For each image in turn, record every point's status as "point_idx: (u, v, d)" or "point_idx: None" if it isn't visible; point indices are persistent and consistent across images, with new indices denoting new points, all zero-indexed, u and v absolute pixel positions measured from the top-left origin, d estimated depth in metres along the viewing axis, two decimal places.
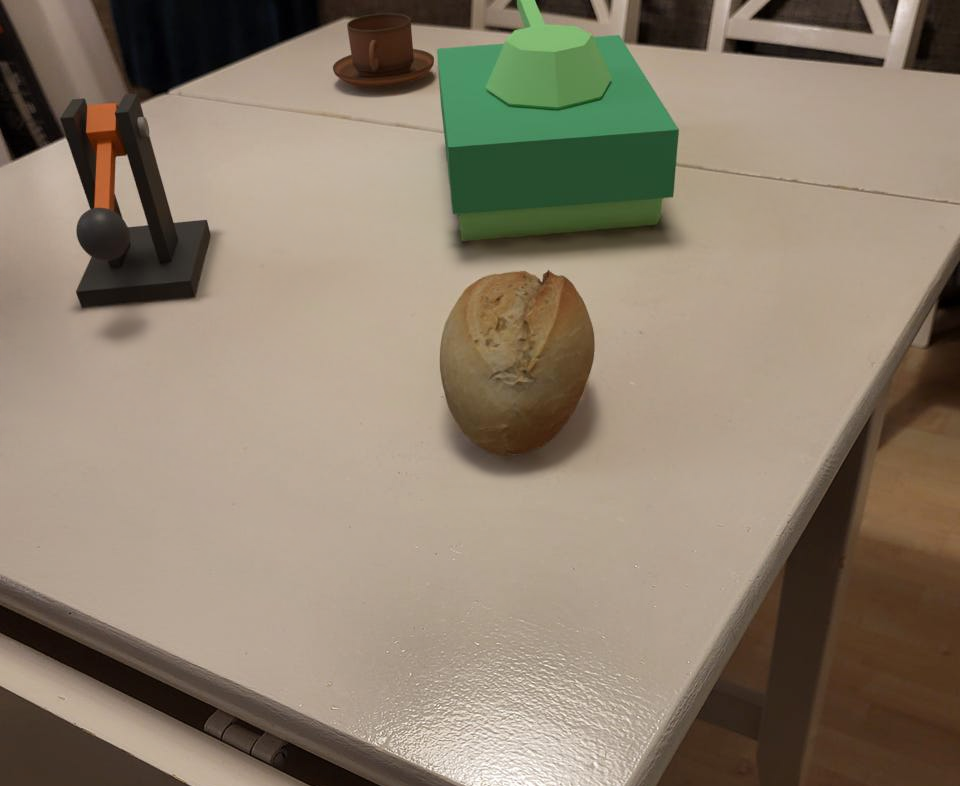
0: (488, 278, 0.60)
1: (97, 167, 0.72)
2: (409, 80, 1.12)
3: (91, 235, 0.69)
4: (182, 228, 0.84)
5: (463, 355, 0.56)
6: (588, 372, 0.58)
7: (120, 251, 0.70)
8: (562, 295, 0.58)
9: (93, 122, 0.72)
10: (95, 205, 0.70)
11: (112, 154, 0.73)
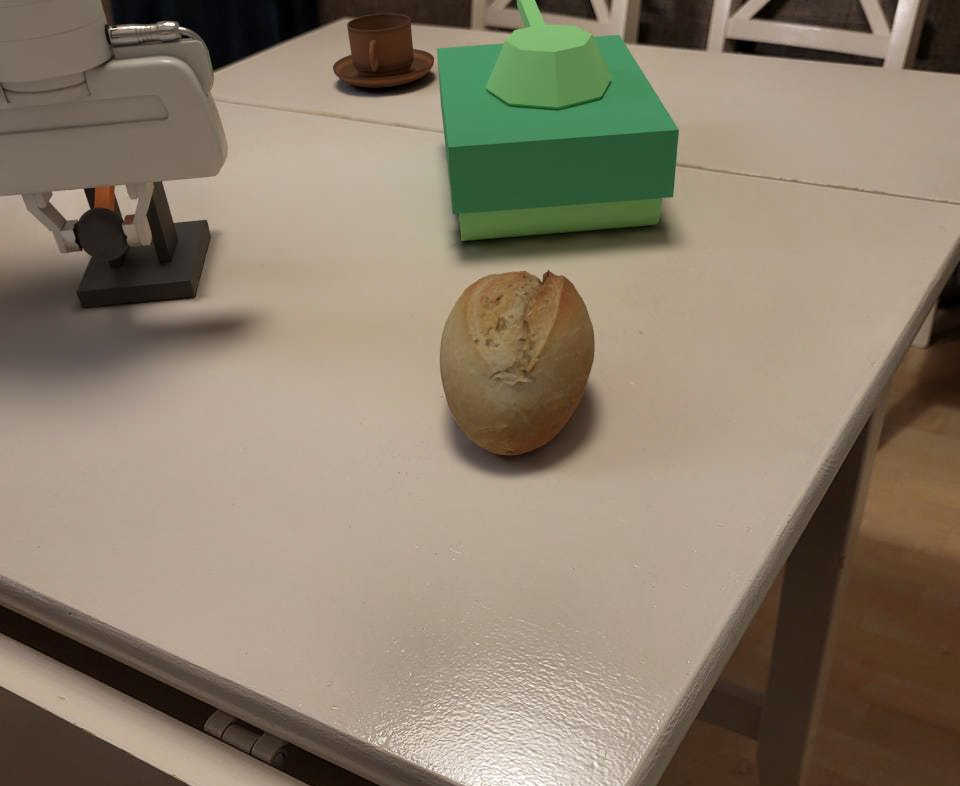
0: (488, 278, 0.60)
1: None
2: (409, 80, 1.12)
3: (91, 235, 0.69)
4: (182, 228, 0.84)
5: (463, 355, 0.56)
6: (588, 372, 0.58)
7: (120, 251, 0.70)
8: (562, 295, 0.58)
9: None
10: (95, 205, 0.70)
11: None
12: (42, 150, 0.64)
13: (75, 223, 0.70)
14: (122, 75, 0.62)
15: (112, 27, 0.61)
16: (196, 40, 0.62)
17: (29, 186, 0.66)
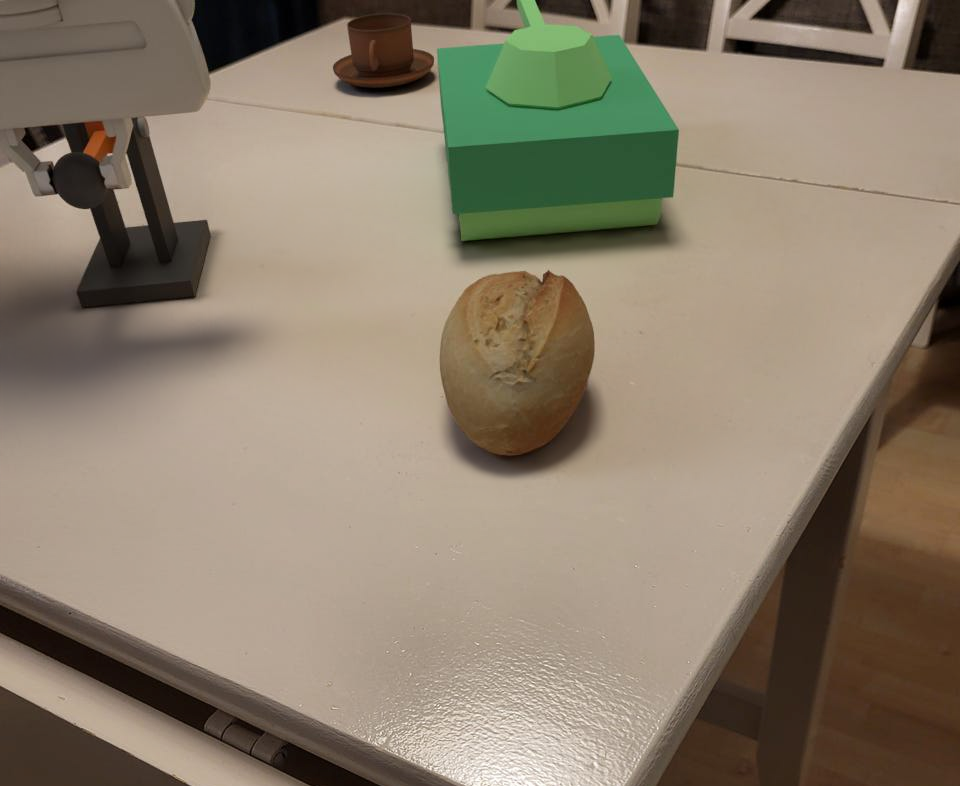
0: (488, 278, 0.60)
1: (89, 143, 0.70)
2: (409, 80, 1.12)
3: (66, 169, 0.65)
4: (182, 228, 0.84)
5: (463, 355, 0.56)
6: (588, 372, 0.58)
7: (95, 193, 0.66)
8: (562, 295, 0.58)
9: None
10: None
11: (107, 139, 0.72)
12: (12, 81, 0.61)
13: (50, 164, 0.66)
14: None
15: None
16: None
17: None
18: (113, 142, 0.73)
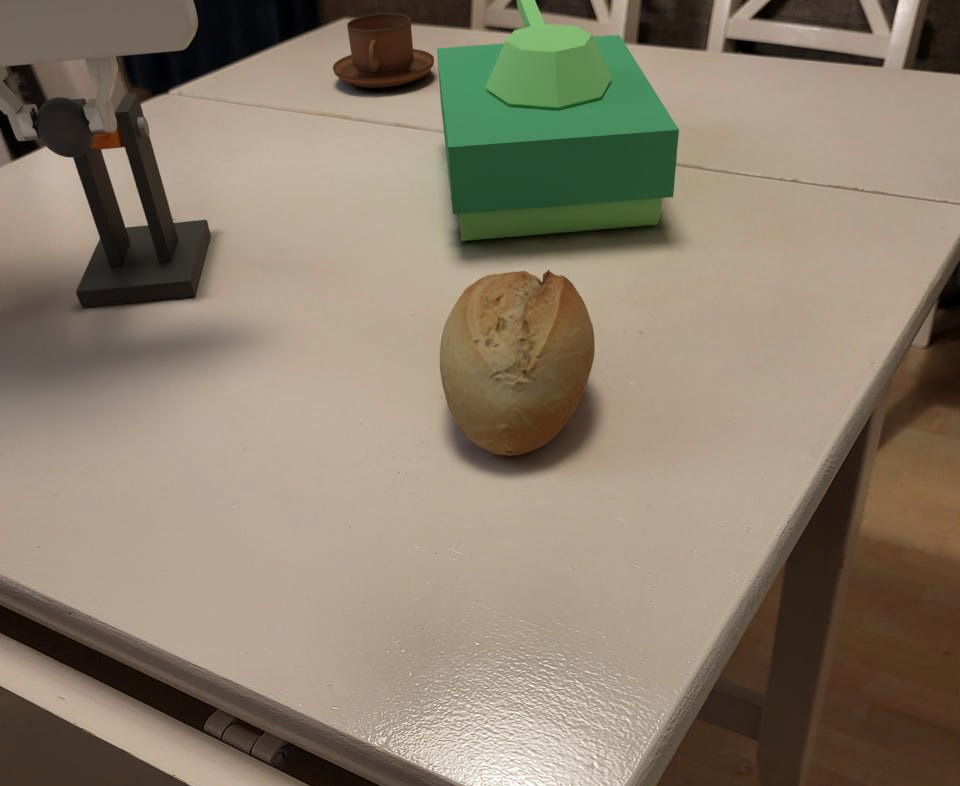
0: (488, 278, 0.60)
1: None
2: (409, 80, 1.12)
3: (50, 106, 0.63)
4: (182, 228, 0.84)
5: (463, 355, 0.56)
6: (588, 372, 0.58)
7: (78, 132, 0.64)
8: (562, 295, 0.58)
9: None
10: None
11: None
12: None
13: (33, 107, 0.64)
14: None
15: None
16: None
17: None
18: (111, 135, 0.73)
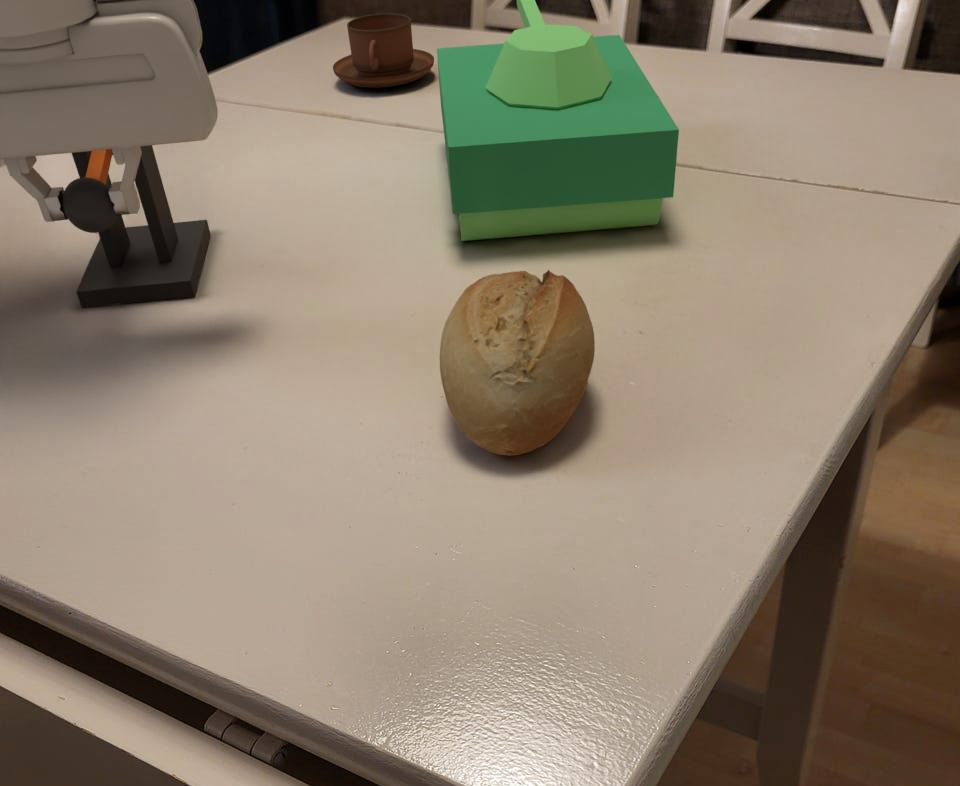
0: (488, 278, 0.60)
1: (92, 154, 0.71)
2: (409, 80, 1.12)
3: (76, 199, 0.66)
4: (182, 228, 0.84)
5: (463, 355, 0.56)
6: (588, 372, 0.58)
7: (106, 220, 0.68)
8: (562, 295, 0.58)
9: None
10: None
11: None
12: (24, 112, 0.62)
13: (60, 190, 0.67)
14: (107, 32, 0.59)
15: None
16: None
17: (12, 150, 0.64)
18: None
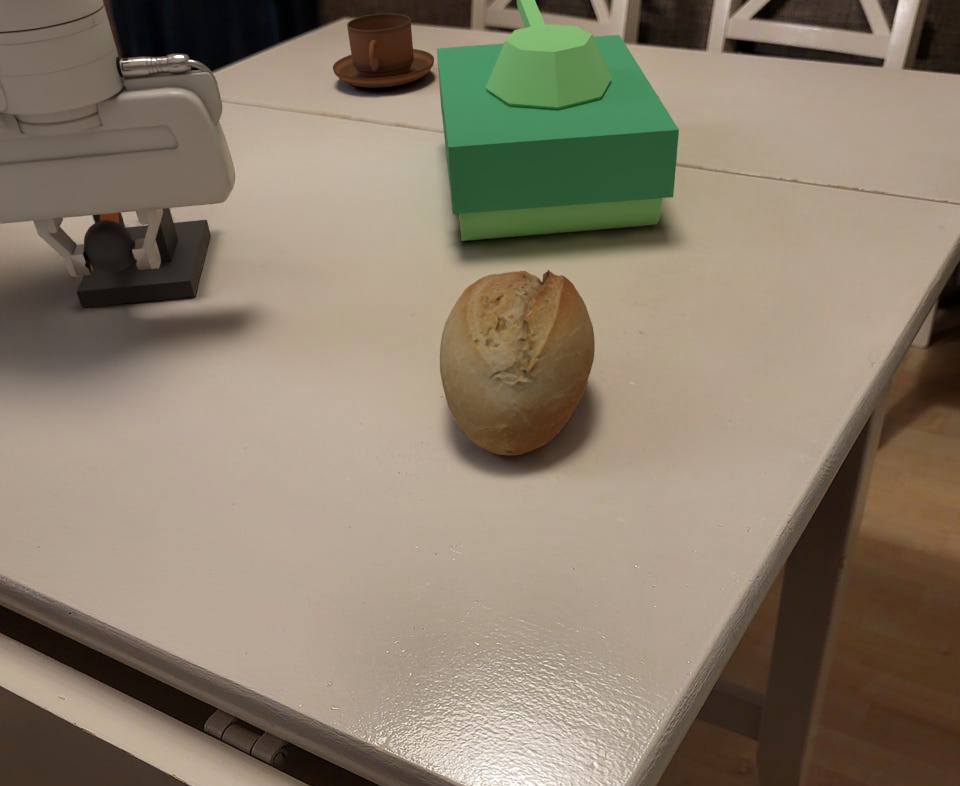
0: (488, 278, 0.60)
1: None
2: (409, 80, 1.12)
3: (99, 251, 0.70)
4: (182, 228, 0.84)
5: (463, 355, 0.56)
6: (588, 372, 0.58)
7: (127, 264, 0.72)
8: (562, 295, 0.58)
9: None
10: (100, 215, 0.71)
11: None
12: (54, 178, 0.66)
13: None
14: (133, 106, 0.63)
15: (123, 60, 0.63)
16: (205, 72, 0.64)
17: (41, 213, 0.67)
18: None
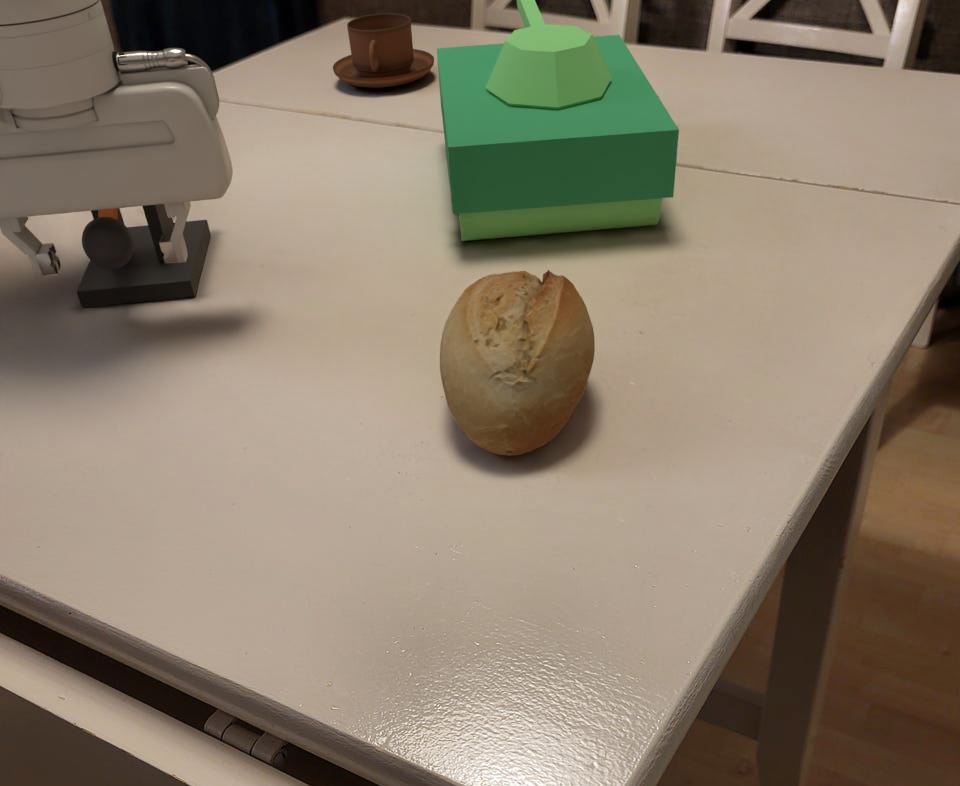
0: (488, 278, 0.60)
1: None
2: (409, 80, 1.12)
3: (97, 247, 0.70)
4: None
5: (463, 355, 0.56)
6: (588, 372, 0.58)
7: (125, 260, 0.71)
8: (562, 295, 0.58)
9: None
10: (99, 213, 0.71)
11: None
12: (50, 174, 0.65)
13: (50, 246, 0.71)
14: (129, 101, 0.63)
15: (120, 54, 0.62)
16: (202, 67, 0.63)
17: (37, 208, 0.67)
18: None
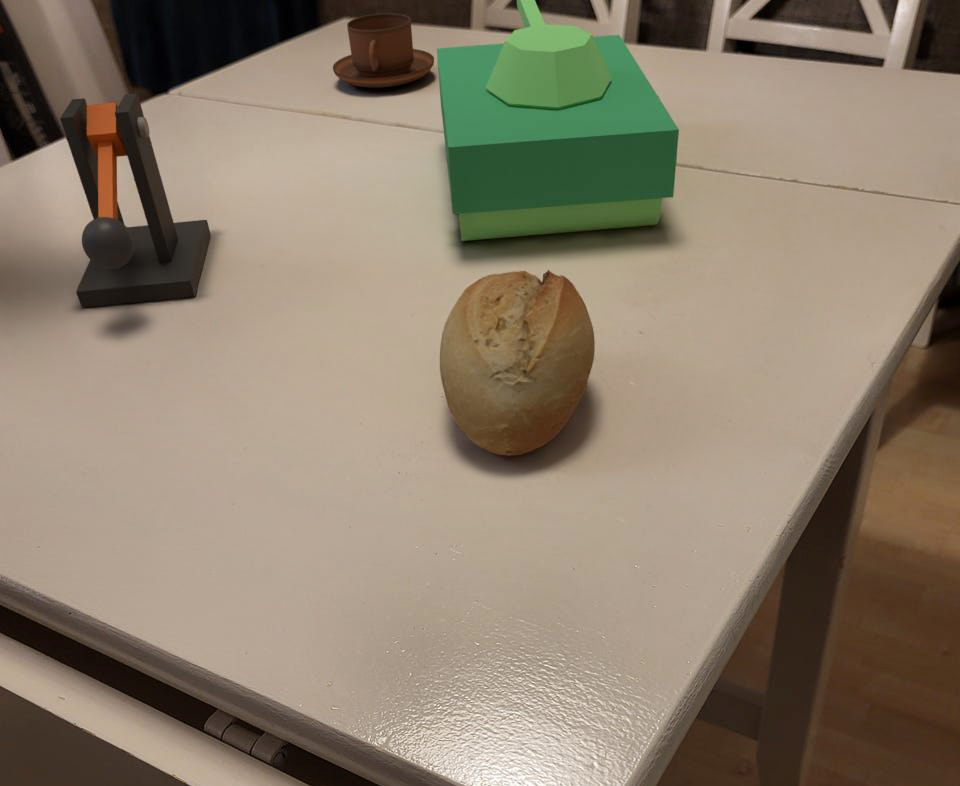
0: (488, 278, 0.60)
1: (99, 172, 0.72)
2: (409, 80, 1.12)
3: (97, 247, 0.70)
4: (182, 228, 0.84)
5: (463, 355, 0.56)
6: (588, 372, 0.58)
7: (125, 260, 0.71)
8: (562, 295, 0.58)
9: (93, 124, 0.72)
10: (99, 213, 0.71)
11: (113, 157, 0.73)
12: None
13: None
14: None
15: None
16: None
17: None
18: (117, 149, 0.74)
